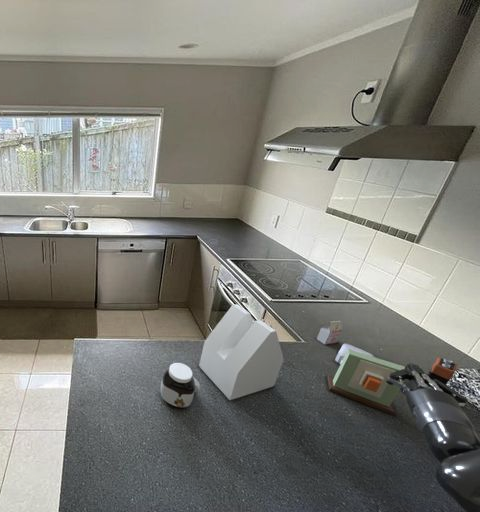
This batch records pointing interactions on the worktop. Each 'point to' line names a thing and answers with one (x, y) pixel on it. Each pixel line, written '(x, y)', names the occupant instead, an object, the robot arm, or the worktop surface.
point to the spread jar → (178, 386)
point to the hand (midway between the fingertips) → (411, 366)
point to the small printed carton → (330, 332)
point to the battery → (442, 370)
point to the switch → (372, 384)
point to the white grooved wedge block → (241, 354)
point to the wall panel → (355, 376)
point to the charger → (344, 350)
